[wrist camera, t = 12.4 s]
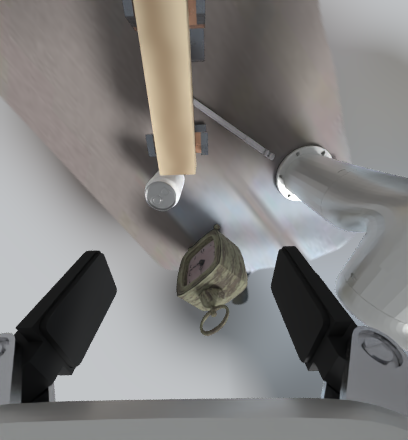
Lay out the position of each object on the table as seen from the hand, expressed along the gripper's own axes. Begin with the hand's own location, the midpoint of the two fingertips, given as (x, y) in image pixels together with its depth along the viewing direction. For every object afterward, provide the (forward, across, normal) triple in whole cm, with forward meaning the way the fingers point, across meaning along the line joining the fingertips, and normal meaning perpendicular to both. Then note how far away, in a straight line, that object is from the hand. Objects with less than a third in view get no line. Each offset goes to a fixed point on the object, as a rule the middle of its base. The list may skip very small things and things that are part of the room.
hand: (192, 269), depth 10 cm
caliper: (+35, -6, -6) cm, 36 cm away
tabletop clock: (+34, -2, +23) cm, 42 cm away
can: (+34, +7, +4) cm, 35 cm away
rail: (+24, +3, -12) cm, 27 cm away
